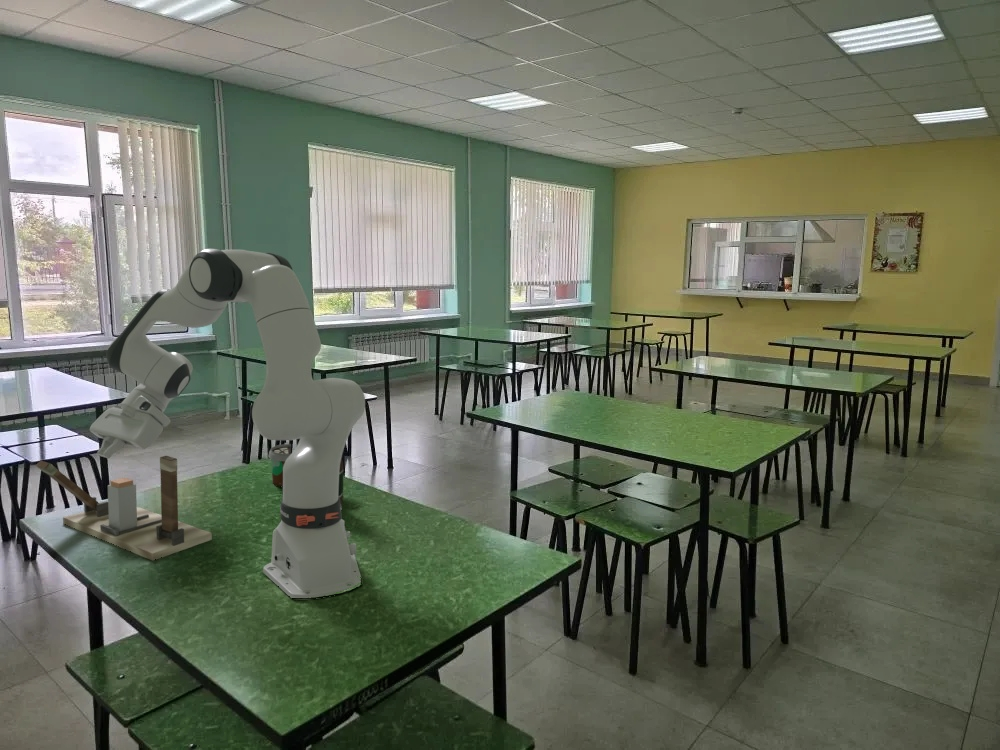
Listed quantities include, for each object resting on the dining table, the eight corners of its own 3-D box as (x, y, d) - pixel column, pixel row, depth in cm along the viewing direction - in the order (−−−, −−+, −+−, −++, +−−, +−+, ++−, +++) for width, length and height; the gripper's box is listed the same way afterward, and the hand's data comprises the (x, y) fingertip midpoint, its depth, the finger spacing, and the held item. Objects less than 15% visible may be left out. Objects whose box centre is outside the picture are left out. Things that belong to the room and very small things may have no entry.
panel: (211, 539, 150) (211, 520, 149) (152, 560, 138) (152, 539, 137) (122, 507, 167) (122, 489, 166) (63, 523, 154) (62, 504, 154)
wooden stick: (97, 504, 160) (41, 459, 148) (106, 507, 158) (50, 462, 146) (91, 510, 159) (34, 465, 147) (100, 513, 157) (43, 469, 145)
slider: (126, 523, 152) (125, 476, 151) (137, 527, 150) (135, 480, 149) (109, 528, 149) (107, 480, 147) (119, 532, 147) (118, 484, 145)
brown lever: (168, 534, 146) (166, 455, 143) (179, 538, 144) (177, 458, 142) (160, 537, 144) (159, 457, 142) (171, 541, 143) (169, 460, 140)
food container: (268, 476, 197) (269, 443, 196) (290, 476, 199) (290, 443, 197) (267, 490, 185) (267, 455, 184) (290, 489, 187) (291, 454, 186)
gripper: (107, 396, 167) (67, 441, 160) (157, 407, 157) (118, 455, 150) (125, 411, 172) (87, 456, 165) (175, 422, 162) (137, 470, 155)
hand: (102, 456), depth 157 cm, fingers closed
